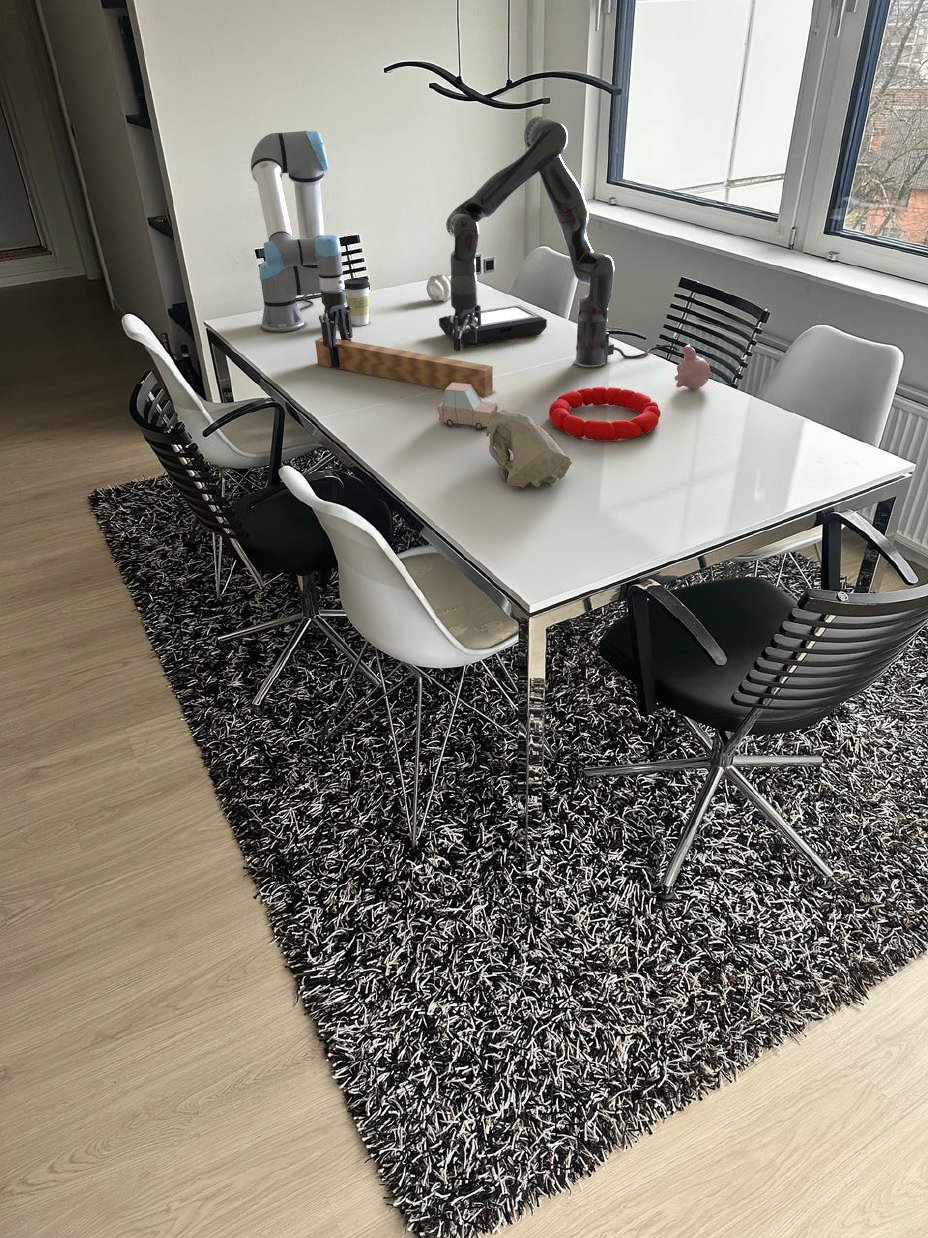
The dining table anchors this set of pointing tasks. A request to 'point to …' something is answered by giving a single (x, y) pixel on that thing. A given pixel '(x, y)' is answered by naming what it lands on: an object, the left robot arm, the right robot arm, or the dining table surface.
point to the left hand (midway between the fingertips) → (340, 364)
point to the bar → (408, 366)
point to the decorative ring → (604, 428)
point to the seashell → (439, 287)
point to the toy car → (465, 406)
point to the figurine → (692, 370)
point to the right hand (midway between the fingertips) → (465, 346)
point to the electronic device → (502, 325)
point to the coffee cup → (358, 299)
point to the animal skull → (525, 450)
